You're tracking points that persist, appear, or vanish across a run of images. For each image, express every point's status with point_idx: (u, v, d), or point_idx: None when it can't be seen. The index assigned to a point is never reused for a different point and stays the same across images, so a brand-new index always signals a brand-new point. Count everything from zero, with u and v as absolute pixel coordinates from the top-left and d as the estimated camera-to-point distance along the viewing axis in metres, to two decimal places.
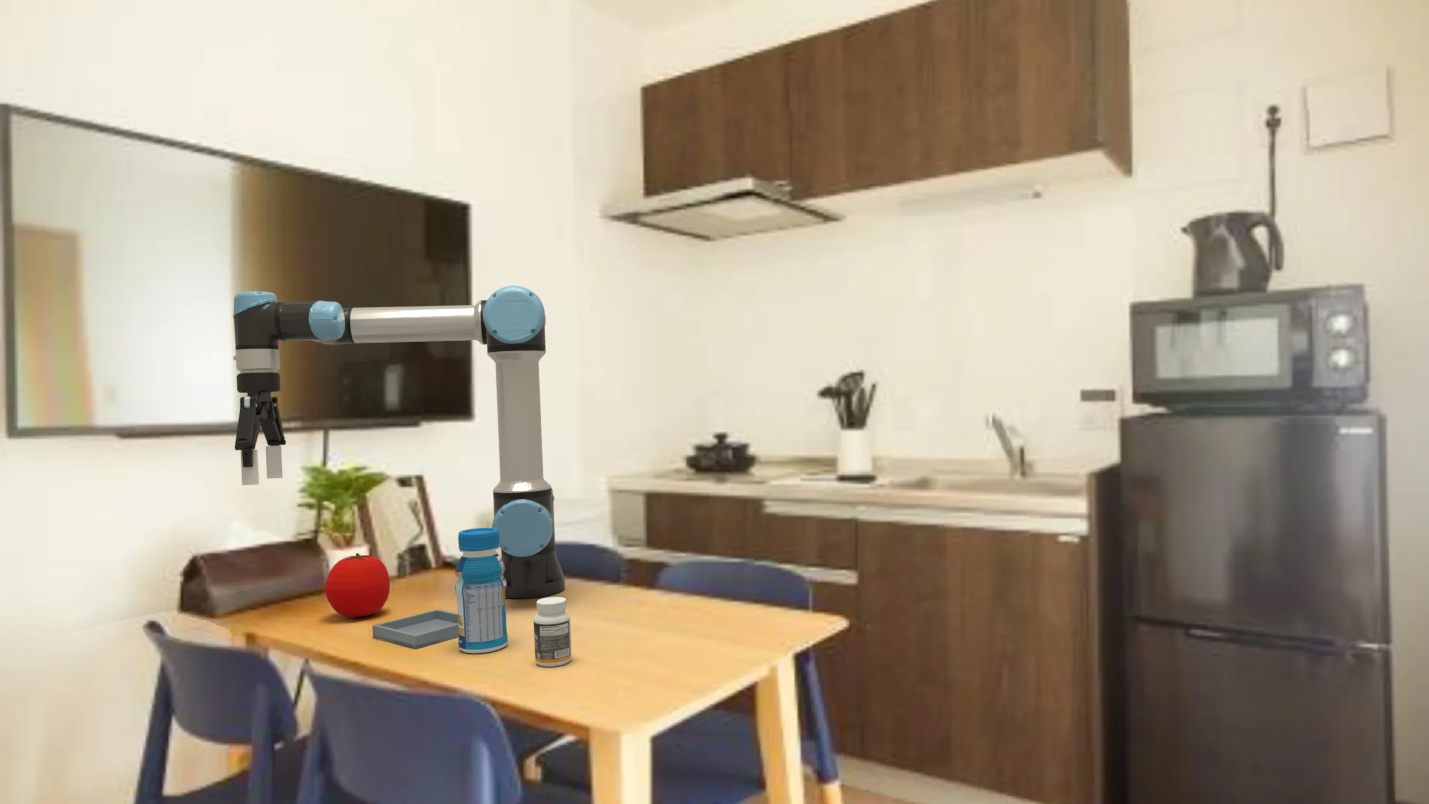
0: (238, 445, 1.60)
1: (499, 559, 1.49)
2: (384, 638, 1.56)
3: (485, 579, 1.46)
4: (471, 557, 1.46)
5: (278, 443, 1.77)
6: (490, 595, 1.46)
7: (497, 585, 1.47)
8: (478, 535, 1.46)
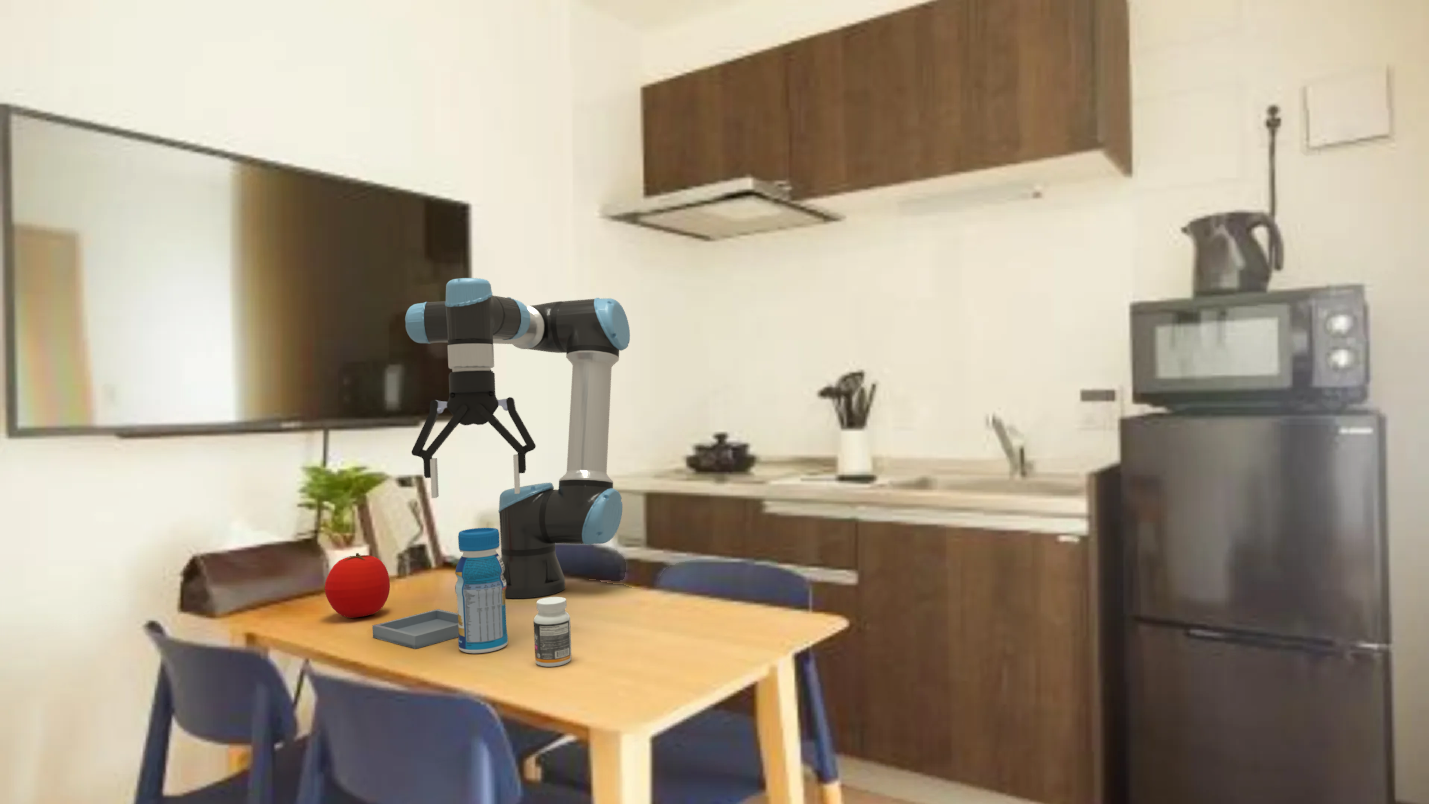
0: None
1: (499, 559, 1.49)
2: (384, 638, 1.56)
3: (485, 579, 1.46)
4: (471, 557, 1.46)
5: (517, 452, 1.49)
6: (490, 595, 1.46)
7: (497, 585, 1.47)
8: (478, 535, 1.46)
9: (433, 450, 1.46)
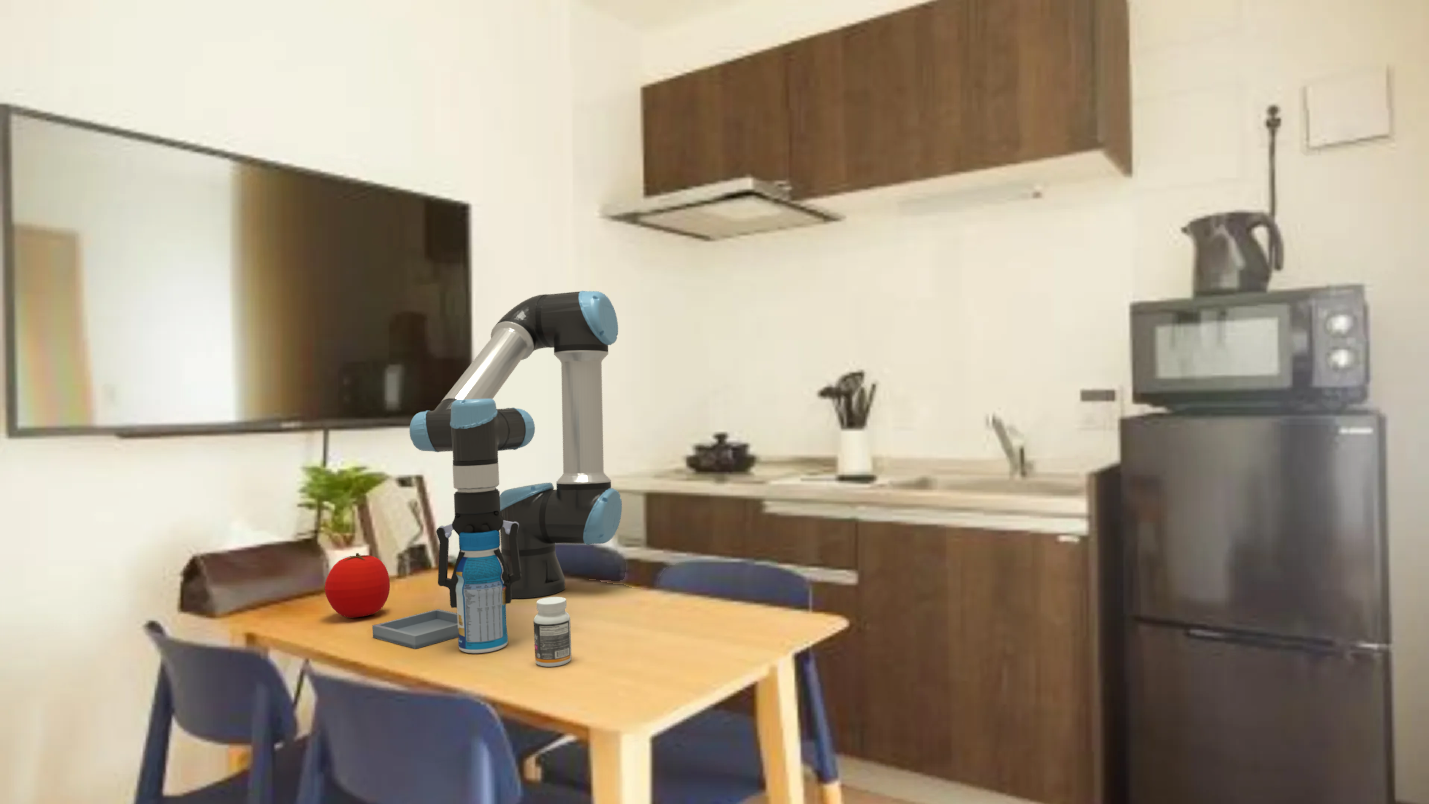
0: None
1: None
2: (384, 638, 1.56)
3: (485, 579, 1.46)
4: (472, 557, 1.46)
5: None
6: (490, 594, 1.46)
7: (497, 585, 1.47)
8: (479, 535, 1.46)
9: (457, 578, 1.47)
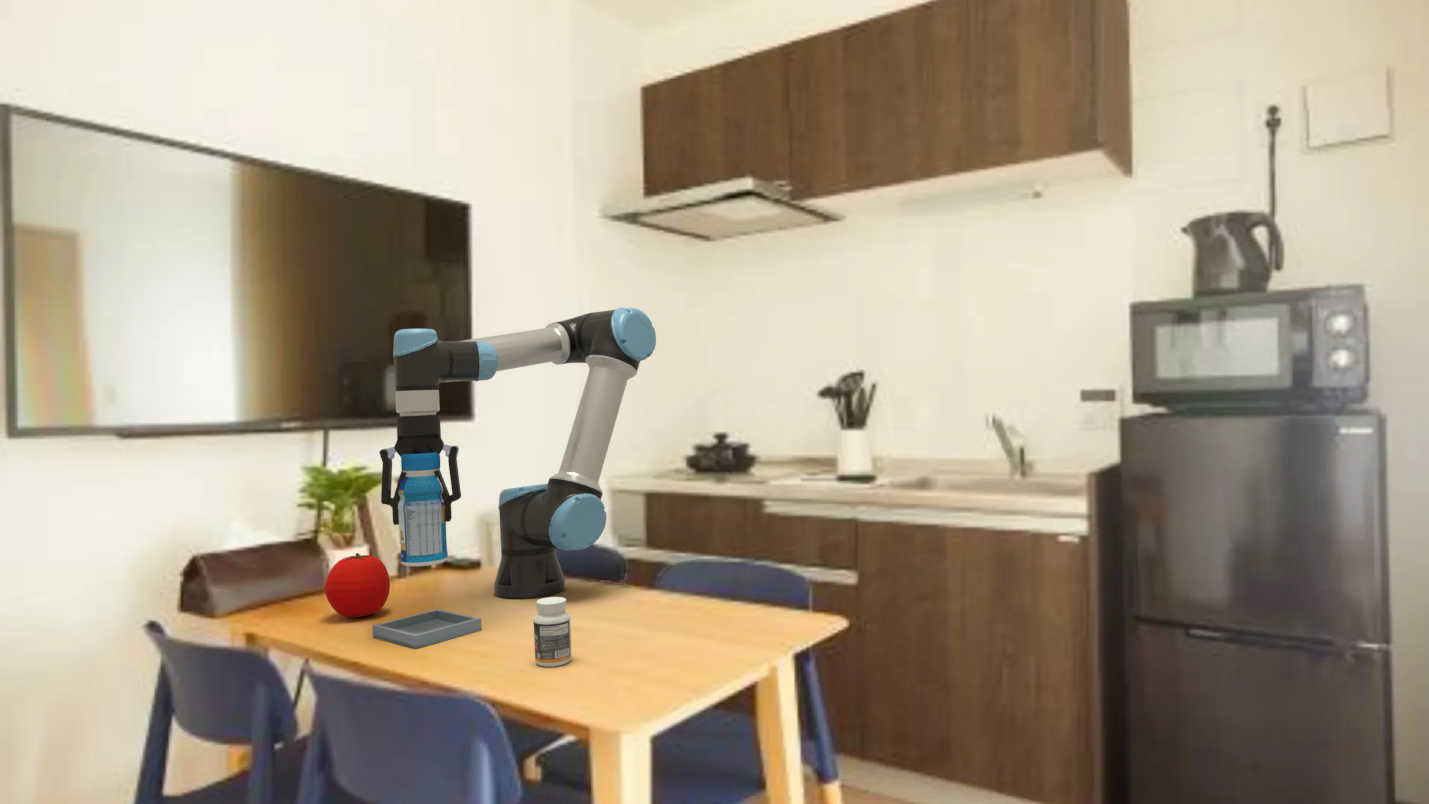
0: None
1: (439, 480, 1.58)
2: (384, 638, 1.56)
3: (425, 497, 1.55)
4: (412, 476, 1.56)
5: None
6: (429, 511, 1.56)
7: (436, 503, 1.56)
8: (419, 455, 1.56)
9: (399, 497, 1.57)
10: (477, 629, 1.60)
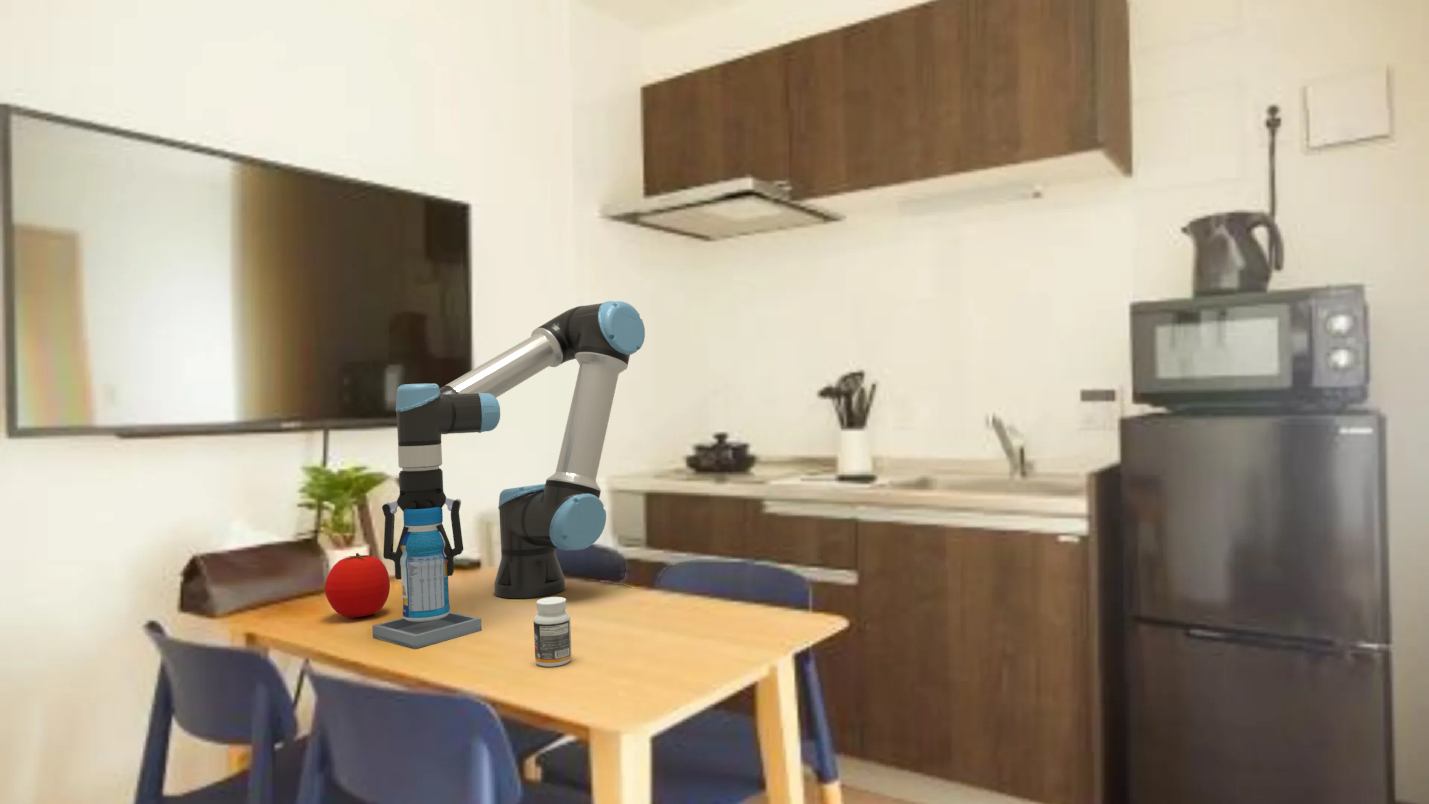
0: None
1: None
2: (384, 638, 1.56)
3: (427, 552, 1.56)
4: (415, 532, 1.56)
5: None
6: (432, 567, 1.56)
7: (438, 558, 1.57)
8: (421, 511, 1.56)
9: (401, 552, 1.57)
10: (477, 629, 1.60)
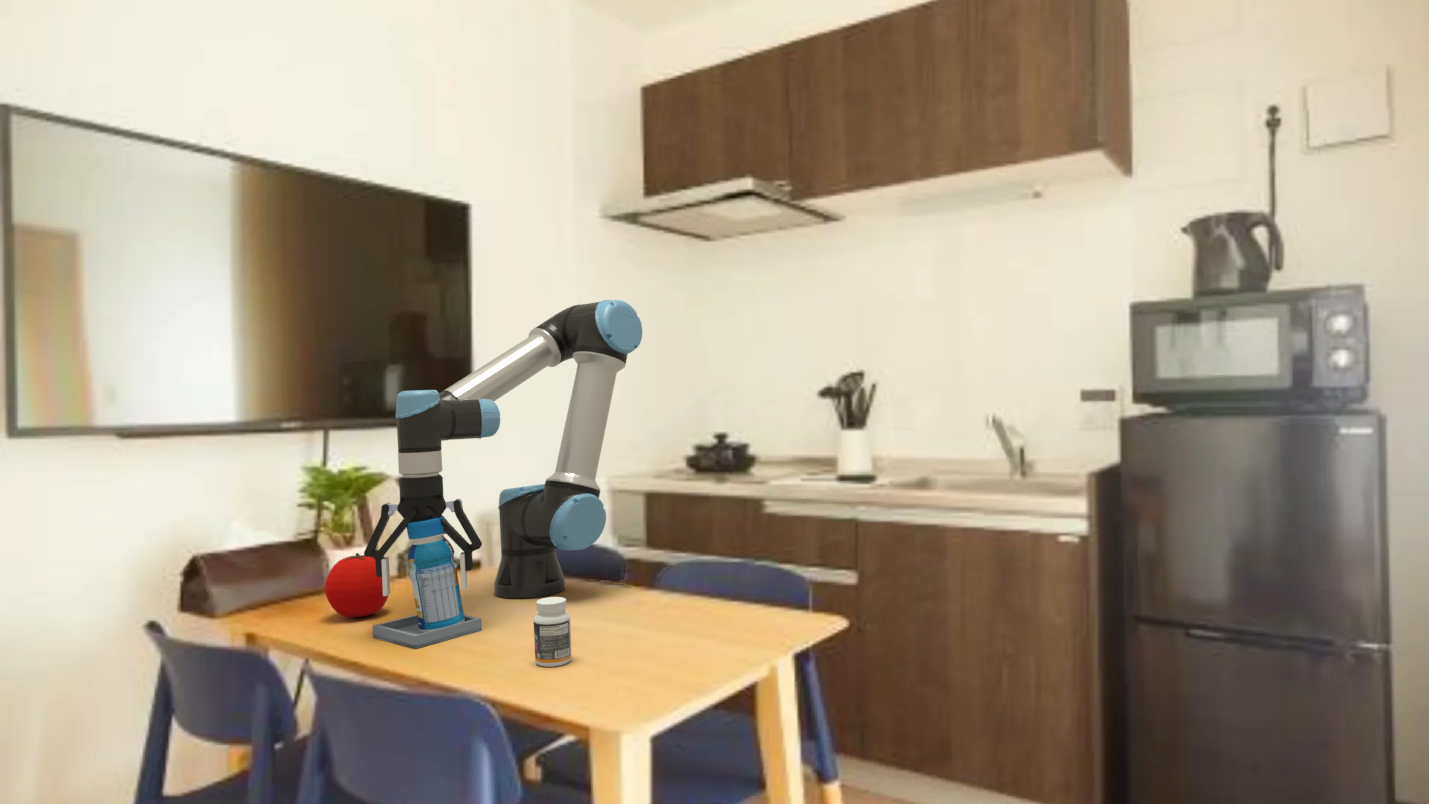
0: None
1: (448, 543, 1.59)
2: (384, 638, 1.56)
3: (436, 562, 1.56)
4: (421, 544, 1.56)
5: None
6: (442, 576, 1.56)
7: (448, 567, 1.57)
8: (425, 522, 1.56)
9: (384, 551, 1.57)
10: (477, 629, 1.60)
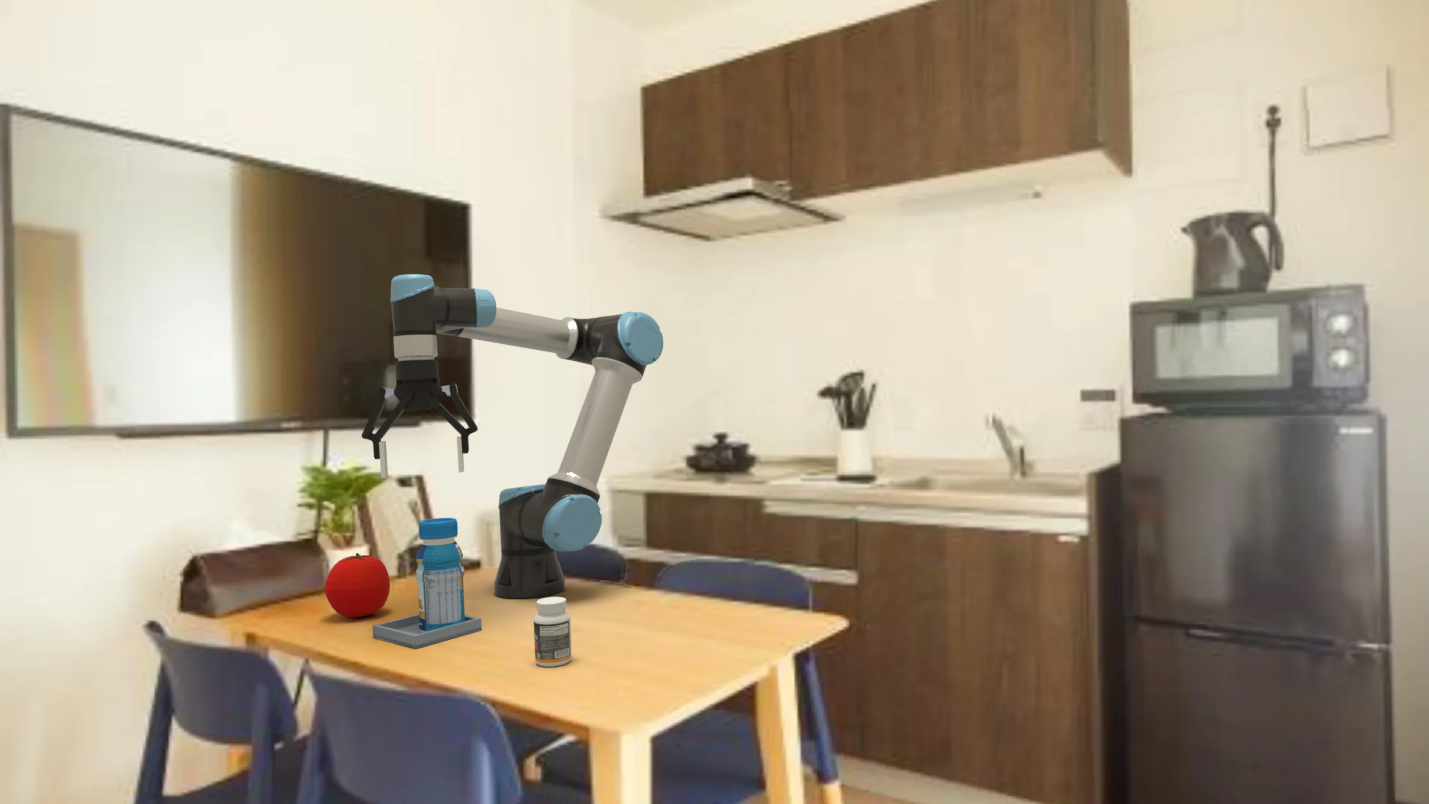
0: None
1: (457, 547, 1.59)
2: (384, 638, 1.56)
3: (444, 565, 1.56)
4: (431, 545, 1.56)
5: (460, 434, 1.62)
6: (449, 580, 1.56)
7: (455, 571, 1.57)
8: (438, 524, 1.56)
9: (382, 433, 1.59)
10: (477, 629, 1.60)
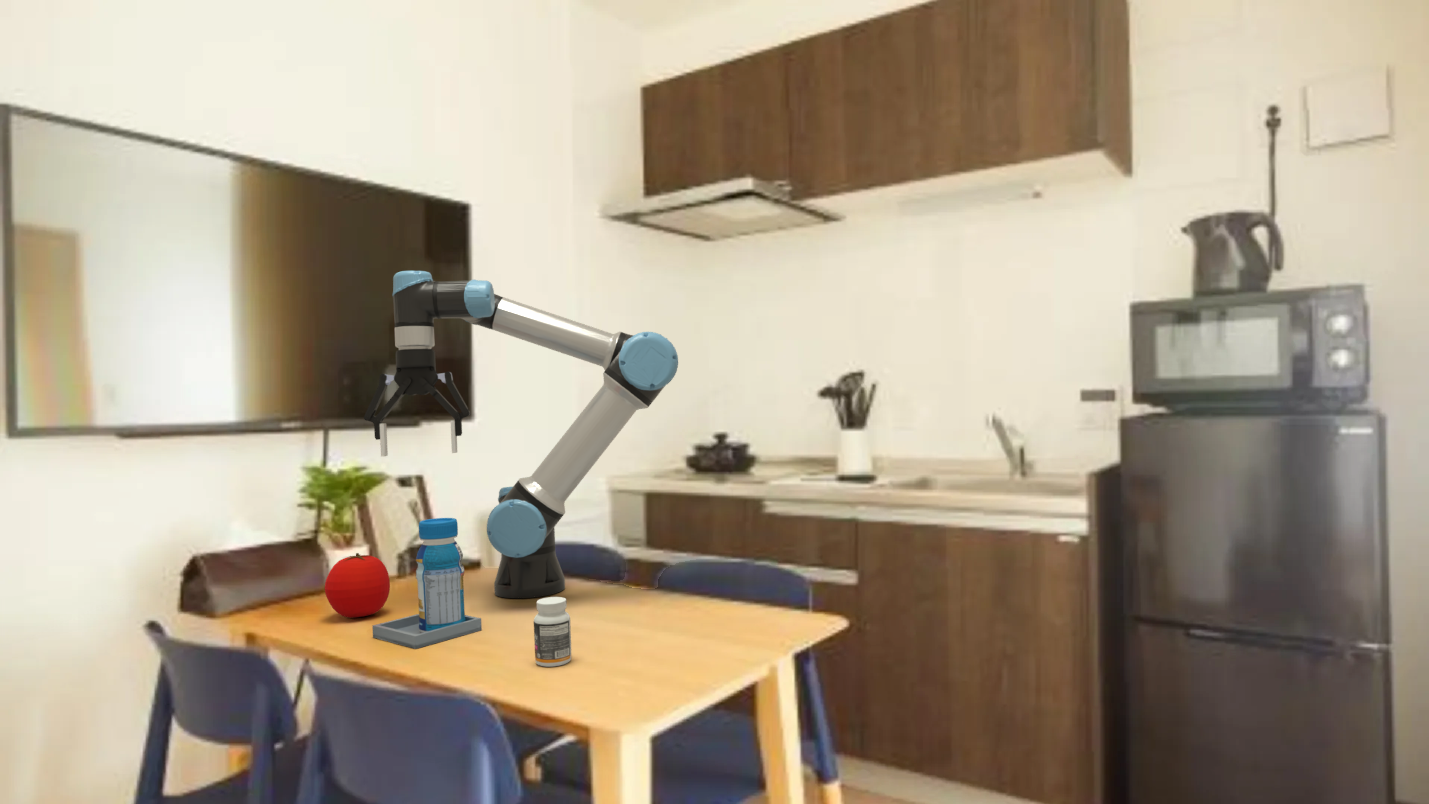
0: None
1: (457, 547, 1.59)
2: (384, 638, 1.56)
3: (444, 565, 1.56)
4: (431, 545, 1.56)
5: None
6: (449, 580, 1.56)
7: (455, 571, 1.57)
8: (438, 524, 1.56)
9: (382, 416, 1.74)
10: (477, 629, 1.60)
